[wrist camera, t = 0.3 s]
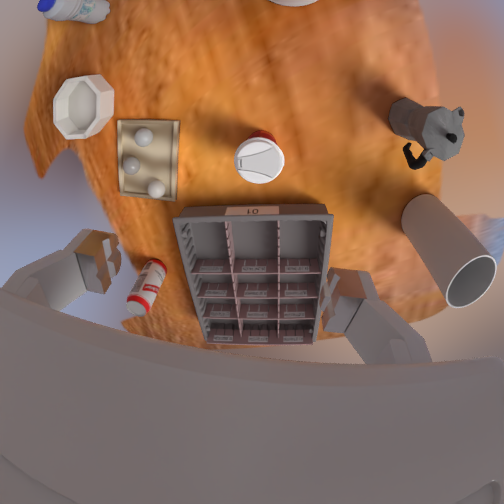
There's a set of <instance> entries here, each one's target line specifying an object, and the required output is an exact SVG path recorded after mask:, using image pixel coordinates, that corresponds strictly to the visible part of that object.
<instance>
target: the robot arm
mask: <svg viewBox="0 0 504 504" xmlns="http://www.w3.org/2000/svg"><path fill="white" fill-rule="evenodd" d="M269 1H271V2H274V3H277V4H280V5H285V6H304V5H308V4H311V3H313V2H316V1H317V0H269ZM118 244H119V242H118V236H117V235H116V234H114V233H108V232H103V231H97V230H91V229H82V231H81V232H79V233H78V235H77V236H76V237H75V238H74V239H73V240H72V241H71V242H70V243H69V244H68V245H67V246H66V247H65V248H64V250H59V251H56V252H54V253H52V254H50V255H48V256H45V257H43V258H41V259H39V260H37V261H35V262H33V263H30V264H28V265H26V266H24V267H22V268H20V269H18V270H16V271H15V272H14V274H13V275H12V276H11V277H10V278H9V279H8V281H7V282H6V283H5V284H4V285H3V287H2V288H0V504H504V361H503V360H502V359H500V358H499V357H497V356H487V357H480V358H473V359H464V360H455V361H445V362H432V359H431V356H430V353H429V351H428V348H427V345H426V343H425V340H424V338H423V337H422V336H420V334H418V333H417V332H416V331H415V330H414V329H413V328H412V327H411V326H410V325H409V324H408V323H407V322H406V321H405V320H404V319H402V318H401V317H400V316H399V315H398V314H397V313H396V312H395V311H394V310H393V309H392V308H390V307H389V306H388V305H387V304H386V303H385V302H384V301H380V299H379V297H378V294H377V291H376V289H375V286H374V283H373V281H372V278H371V276H370V273H369V272H367V271H359V270H348V269H341V268H334V267H331V268H330V269H329V271H328V274H327V279H328V281H327V282H326V283H325V284H323V286H322V289H321V293H320V298H319V304H320V309H321V310H322V311H323V312H324V313H323V315H322V317H321V318H322V325H323V331H328V332H337V333H344V335H345V336H346V338H347V339H348V340H349V342H350V343H351V344H352V346H353V347H354V348H355V350H356V351H357V353H358V354H359V355H360V357H361V358H362V359H363V361H364V362H365V364H336V363H317V362H303V361H290V360H280V359H271V358H262V357H254V356H246V355H239V354H232V353H226V352H219V351H213V350H207V349H202V348H196V347H191V346H186V345H181V344H176V343H171V342H166V341H162V340H157V339H153V338H149V337H145V336H140V335H136V334H132V333H129V332H125V331H121V330H117V329H114V328H110V327H107V326H103V325H100V324H96V323H93V322H90V321H86V320H83V319H80V318H77V317H74V316H71V315H68V314H65V313H62V312H60V310H62V309H63V308H65V307H66V306H67V305H69V304H70V303H71V302H73V301H74V300H75V299H77V298H78V297H80V296H81V295H83V294H84V293H85V292H87V291H91V292H96V293H100V294H105V292H106V291H107V289H108V288H109V286H110V285H111V278H112V277H114V276H116V275H117V273H118V272H119V269H120V266H121V253H120V252H119V250H118V249H117V248H116V247H117V245H118Z"/></svg>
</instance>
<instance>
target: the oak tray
mask: <svg viewBox="0 0 504 504" xmlns="http://www.w3.org/2000/svg"><path fill="white" fill-rule="evenodd" d="M142 128H147V129H149V130H151V131H152V133H153V140H152V142H151V144H149V145H148V146H146V147H140V146H138V145H137V144H136V143H135V140H134V136H135V134H136V132H137V131H138V130H139V129H142ZM179 132H180V120H157V119H121V120H118V125H117V134H118V169H119V185H120V196H130V197H139V198H148V199H156V200H165V201H173V202H175V201H176V200H177V174H178V149H179ZM129 157H135V158H137V159H138V160H139V161H140V169H139V171H138V172H137V173H136V174H134V175H128V174H126V173H125V172H124V170H123V163H124V161H125V160H126V159H127V158H129ZM154 180H159V181H162V182H163V183H164V185H165V193H164V195H163V196H162V197H160V198H152V197H151V196H150V195H149V194H148V185H149V184H150V183H151V182H152V181H154Z"/></svg>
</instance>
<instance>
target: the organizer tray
mask: <svg viewBox="0 0 504 504" xmlns="http://www.w3.org/2000/svg"><path fill="white" fill-rule="evenodd" d="M333 218H334V215H333V214H328V212H327V209H326V206H325V204H253V205H222V206H199V207H184V209H183V211H182V212H181V214H180V216H179V217H174V218H173V219H172V220H173V224H174V228H175V233H176V237H177V241H178V245H179V250H180V254H181V258H182V262H183V265H184V269H185V273H186V277H187V281H188V284H189V288H190V292H191V295H192V299H193V302H194V306H195V309H196V313H197V316H198V320H199V323H200V326H201V330H202V333H203V336H204V339H205V340H206V341H207V343H212V344H234V345H313V342H315V341H316V338H317V333H318V327H319V321H320V316H321V309H320V304H319V298H320V293H321V289H322V286H323V284H325V283H326V277H327V270H328V262H329V254H330V246H331V237H332V228H333Z"/></svg>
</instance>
